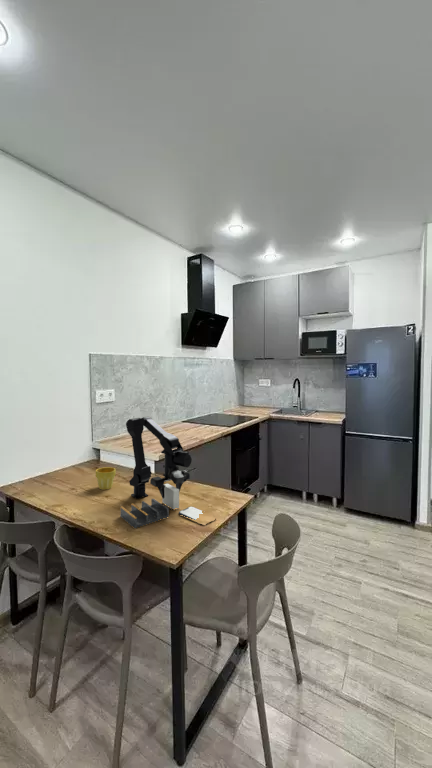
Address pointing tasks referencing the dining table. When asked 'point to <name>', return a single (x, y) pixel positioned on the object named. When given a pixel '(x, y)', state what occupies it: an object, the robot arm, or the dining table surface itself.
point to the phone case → (191, 512)
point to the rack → (144, 513)
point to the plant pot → (105, 477)
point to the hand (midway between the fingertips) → (170, 496)
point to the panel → (171, 496)
